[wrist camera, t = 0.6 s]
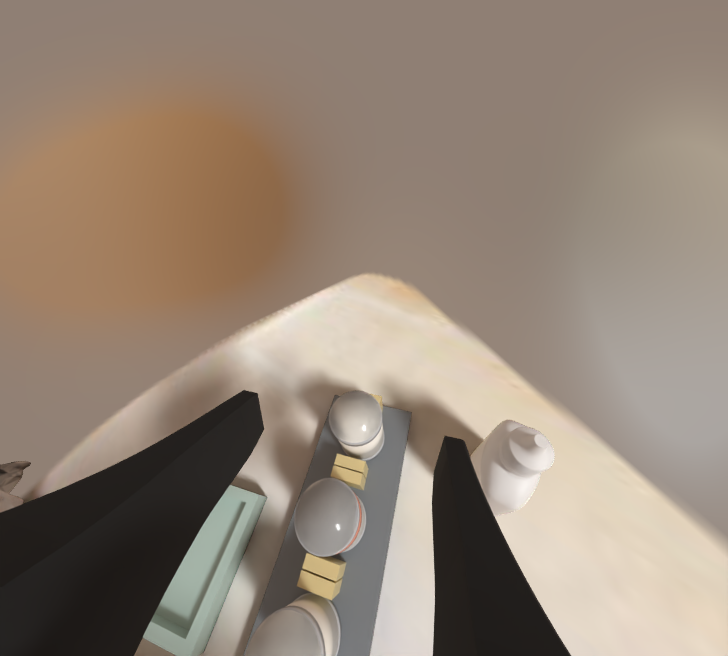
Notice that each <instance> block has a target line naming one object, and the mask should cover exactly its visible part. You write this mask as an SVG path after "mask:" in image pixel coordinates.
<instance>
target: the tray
mask: <svg viewBox="0 0 728 656" xmlns="http://www.w3.org/2000/svg"><path fill="white" fill-rule="evenodd" d="M266 499H267V497H265V496H262V495H259V494H256V493H253V492H250V491H247V490H244V489H241V488H238V487H236V486H233V485H229V487H228V488H227V490H226V491H225V493H224V494H223V496H222V497H221V499H220V500H219V501H218V503H217V504H216V506H215V507H214V509H213V510H212V512H211V513H210V515H209V516H208V518H207V519H206V521H205V523H204V524H203V526H202V528H201V529H200V531H199V533H198V534H197V536H196V538H195V540H194V541H193V543H192V545H191V547H190V548H189V550H188V552H187V554H186V555H185V557H184V559H183V561H182V563H181V565H180V566H179V568H178V570H177V572H176V574H175V575H174V577H173V579H172V581H171V583H170V585H169V586H168V588H167V590H166V592H165V594H164V596H163V598H162V600H161V602H160V604H159V606H158V608H157V610H156V612H155V614H154V616H153V617H152V619H151V621H150V623H149V625H148V627H147V629H146V631H145V633H144V635H143V638H144V639H146V640H148V641H150V642H151V643H153V644H155V645H157V646H159V647H161V648H163V649H164V650H166V651H168V652H170V653H172V654H174V655H176V656H199V655H200V654H202V653H203V652H204V650H205V647H206V645H207V642H208V640H209V638H210V635H211V633H212V630H213V628H214V625H215V623H216V621H217V618H218V616H219V613H220V611H221V608H222V606H223V604H224V601H225V599H226V596H227V594H228V591H229V589H230V586H231V584H232V582H233V579H234V577H235V574H236V572H237V569H238V567H239V565H240V562H241V560H242V557H243V555H244V552H245V550H246V547H247V545H248V543H249V540H250V538H251V535H252V533H253V530H254V528H255V526H256V523H257V521H258V518H259V516H260V513H261V511H262V509H263V506H264V504H265V501H266Z"/></svg>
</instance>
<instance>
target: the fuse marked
mask: <svg viewBox="0 0 728 656" xmlns="http://www.w3.org/2000/svg"><path fill="white" fill-rule="evenodd" d="M366 522H367V517H366V511H365V507H364V505H363V503H362V501H361V500H360V498H359V497H358V496H357V495H356V494H355V493H354V492H353V491H352V490H351V489H350V487H349V486H348V485H347V484H345V483H344V482H342V481H341V480H338V479H335V478H324V479H320V480H318V481H316V482H314V483H313V484H311V485H310V486H309V487H308V488H307V489H306V490H305V491H304V492H303V494H302V495H301V497H300V499H299V501H298V504H297V507H296V510H295V517H294V525H295V531H296V535H297V537H298V540H299V541H300V543H301V545H302V546H303V547H304V548H305V549H306V550H307V551H308V552H310V553H311V554H314V555H316V556H322V557H325V556H331V555H335V554H338V553H342V552H346V551H348V550H351V549H352V548H354V547H355V546H356V545H357V544H358V543H359V542H360V540H361V539H362V537H363V535H364V532H365V529H366Z"/></svg>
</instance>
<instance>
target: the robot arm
mask: <svg viewBox="0 0 728 656" xmlns="http://www.w3.org/2000/svg"><path fill="white" fill-rule="evenodd" d="M263 430H264V426H263V421H262V415H261V410H260V404H259V399H258V393H254V392H249V391H245V390H243V391H242V392H240V393H238V394H237V395H235V396H233V397H232V398H230V399H229V400H227V401H225V402H224V403H222V404H221V405H219V406H217V407H216V408H214V409H213V410H211V411H210V412H208V413H206V414H205V415H203V416H201V417H200V418H198V419H197V420H195V421H193V422H192V423H190V424H188V425H187V426H185V427H184V428H182V429H180V430H178V431H177V432H175V433H173V434H171V435H170V436H168V437H166V438H164V439H163V440H161V441H159V442H157V443H156V444H154V445H152V446H150V447H148V448H147V449H145V450H143V451H141V452H139V453H137V454H135V455H133V456H131V457H129V458H127V459H125V460H123V461H121V462H119V463H117V464H115V465H113V466H111V467H109V468H107V469H105V470H102V471H100V472H98V473H96V474H93V475H91V476H89V477H87V478H84V479H82V480H80V481H78V482H75V483H73V484H71V485H69V486H66V487H64V488H62V489H59V490H57V491H55V492H52V493H50V494H47V495H45V496H42V497H40V498H37V499H35V500H32V501H30V502H27V503H24V504H22V505H19V506H17V507H14V508H11V509H9V510H6V511H3V512H1V513H0V656H134V654H135V652H136V650H137V648H138V646H139V644H140V642H141V640H142V638H143V635H144V633H145V631H146V629H147V627H148V625H149V623H150V621H151V619H152V617H153V616H154V614H155V612H156V610H157V608H158V606H159V604H160V602H161V600H162V598H163V596H164V594H165V592H166V590H167V588H168V586H169V585H170V583H171V581H172V579H173V577H174V575H175V574H176V572H177V570H178V568H179V566H180V565H181V563H182V561H183V559H184V557H185V555H186V554H187V552H188V550H189V548H190V547H191V545H192V543H193V541H194V540H195V538H196V536H197V534H198V533H199V531H200V529H201V528H202V526H203V524H204V523H205V521H206V519H207V518H208V516H209V515H210V513H211V512H212V510H213V509H214V507H215V506H216V504H217V503H218V501H219V500H220V499H221V497H222V496H223V494H224V493H225V491H226V490H227V488H228V487H229V485H230V484H231V483H232V481H233V480H234V478H235V477H236V475H237V474H238V472H239V471H240V470H241V468H242V467H243V465H244V464H245V462H246V461H247V459H248V458H249V456H250V455H251V453H252V451H253V449H254V448H255V446H256V444H257V442H258V440H259V438H260V436H261V434H262V432H263ZM432 517H433V544H434V571H435V616H434V643H433V656H571V655H570V653H569V652H568V650H567V648H566V647H565V645H564V644H563V642H562V640H561V639H560V637H559V636H558V634H557V632H556V631H555V629H554V627H553V626H552V624H551V622H550V620H549V619H548V617H547V615H546V614H545V612H544V610H543V608H542V607H541V605H540V603H539V602H538V600H537V598H536V596H535V594H534V593H533V591H532V589H531V587H530V585H529V584H528V582H527V580H526V578H525V576H524V575H523V573H522V571H521V569H520V567H519V565H518V563H517V561H516V559H515V558H514V556H513V554H512V552H511V550H510V548H509V546H508V544H507V542H506V540H505V538H504V536H503V534H502V532H501V529H500V527H499V525H498V523H497V521H496V519H495V517H494V514H493V512H492V510H491V508H490V505H489V503H488V501H487V499H486V496H485V494H484V492H483V489H482V487H481V485H480V482H479V480H478V477H477V475H476V472H475V469H474V467H473V464H472V461H471V459H470V456H469V453H468V450H467V447H466V443H465V442H464V441H463V440H461V439H457V438H452V437H448V436H444V440H443V443H442V447H441V450H440V453H439V457H438V460H437V463H436V467H435V470H434V479H433V495H432Z"/></svg>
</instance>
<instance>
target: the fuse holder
mask: <svg viewBox="0 0 728 656" xmlns="http://www.w3.org/2000/svg"><path fill="white" fill-rule="evenodd" d="M370 395H372V396H373V397H374V398H375V399H376V400H377V401H378V403H379V405H380V407H381V411H382V424H383V430H384V437H385V441H384V446H383V448H382V450H381V452H380V453H379V455H377V456H376V457H375V458H374V459H372V460H370V461H362V460H359V459H355V458H351V457H348V456H347V455H346V453H345V452H344V450H343V448H342V446H341V444H340V442H339V440H338V439H337V438H336V437H335V435H334V433H333V432H332V430H331V427H330V424H329V413H330V410H329V413H328V416H327V419H326V422H325V425H324V427H323V430H322V433H321V436H320V439H319V442H318V444H317V447H316V450H315V453H314V456H313V459H312V462H311V464H310V467H309V470H308V473H307V476H306V479H305V481H304V484H303V487H302V490H301V493H300V496H299V498H298V501H299V499H300V497H301V495H302V494H303V492H304V491H305V490H306V489H307V488H308V487H309V486H310V485H311V484H313V483H314V482H316V481H318V480H320V479H324V478H335V479H338V480H341V481H342V482H344V483H345V484H347V485H348V486H349V487H350V489H351V490H352V491H353V492H354V493H355V494H356V495H357V496H358V497H359V498H360V500H361V501H362V503H363V505H364V507H365V511H366V517H367V522H366V529H365V532H364V535H363V537H362V539H361V540H360V542H359V543H358V544H357V545H356V546H355V547H354V548H352V549H351V550H348V551H346V552H342V553H338V554H335V555H331V556H325V557H322V556H316V555H314V554H311V553H310V552H308V551H307V550H306V549H305V548H304V547H303V546H302V545H301V543H300V541H299V540H298V537H297V535H296V531H295V525H294V517H295V510H296V507H297V504H298V501H297V504H296V507H295V510H294V513H293V515H292V518H291V521H290V524H289V527H288V530H287V532H286V535H285V538H284V541H283V544H282V547H281V549H280V552H279V555H278V558H277V561H276V564H275V567H274V569H273V572H272V575H271V578H270V581H269V584H268V586H267V589H266V592H265V595H264V598H263V601H262V603H261V606H260V609H259V612H258V615H257V618H256V620H255V623H254V626H253V629H252V632H251V635H250V637H249V640H248V643H247V646H248V644H249V641H250V639H251V637H252V635H253V634H254V632H255V630H256V629H257V628H258V626H259V625H260V624H261V623H262V622H263V620H264V619H265V618H267V617H268V616H269V615H271V614H272V613H274V612H275V611H277V610H279V609H281V608H283V607H285V606H287V605H289V604H290V603H292V602H293V601H294V600H296V599H297V598H298V597H300V596H301V595H303V594H305V593H308V592H312V593H315V594H317V595H320V596H322V597H324V598H327V599H329V600H332V602H333V603H334V604H335V606H336V608H337V611H338V613H339V617H340V621H341V643H340V648H339V652H338V655H337V656H370V651H371V645H372V639H373V633H374V628H375V622H376V616H377V610H378V604H379V599H380V593H381V587H382V581H383V575H384V570H385V564H386V558H387V552H388V547H389V541H390V535H391V529H392V523H393V518H394V512H395V506H396V500H397V494H398V489H399V483H400V477H401V471H402V465H403V460H404V454H405V448H406V442H407V436H408V431H409V425H410V419H411V412H408V411H404V410H400V409H395V408H391V407H386V406H383V405H382V396H377V395H373V394H370ZM339 397H340V396H338V395H335V396H334V399H333V402H332V405H333V403H334V402H335V401H336V400H337V399H338V398H339ZM332 405H331V407H332ZM330 409H331V408H330ZM247 646H246V649H247ZM246 649H245V652H246ZM245 652H244V655H245ZM244 655H243V656H244Z"/></svg>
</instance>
